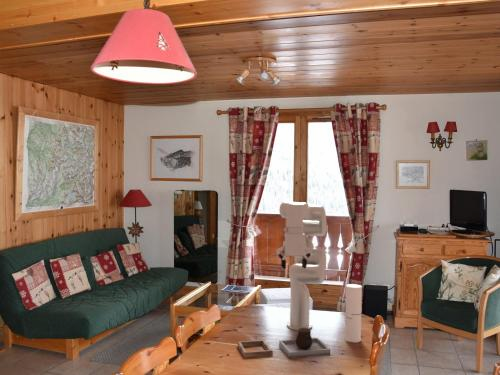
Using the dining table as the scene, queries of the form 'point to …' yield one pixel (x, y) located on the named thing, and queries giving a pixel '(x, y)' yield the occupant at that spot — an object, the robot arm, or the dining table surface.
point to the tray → (294, 352)
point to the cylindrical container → (353, 313)
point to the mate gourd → (304, 338)
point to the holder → (255, 353)
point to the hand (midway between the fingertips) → (294, 268)
